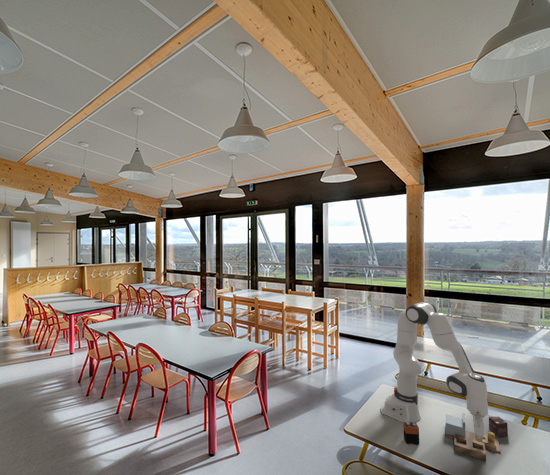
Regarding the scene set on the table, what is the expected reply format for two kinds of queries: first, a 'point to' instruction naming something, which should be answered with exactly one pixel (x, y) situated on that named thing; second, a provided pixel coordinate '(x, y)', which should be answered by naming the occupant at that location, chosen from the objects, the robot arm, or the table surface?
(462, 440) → the board
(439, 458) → the table surface
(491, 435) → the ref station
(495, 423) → the box
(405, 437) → the battery
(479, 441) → the pin
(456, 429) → the cover
